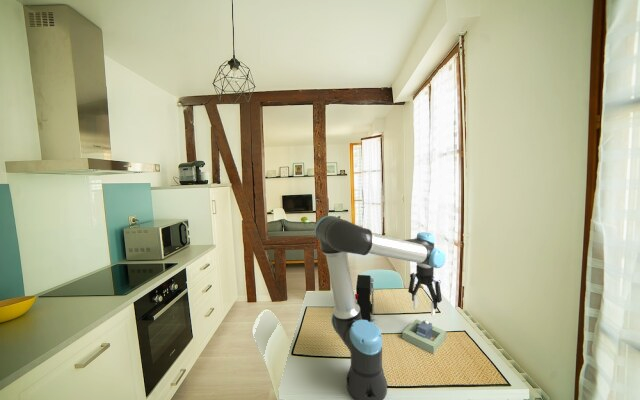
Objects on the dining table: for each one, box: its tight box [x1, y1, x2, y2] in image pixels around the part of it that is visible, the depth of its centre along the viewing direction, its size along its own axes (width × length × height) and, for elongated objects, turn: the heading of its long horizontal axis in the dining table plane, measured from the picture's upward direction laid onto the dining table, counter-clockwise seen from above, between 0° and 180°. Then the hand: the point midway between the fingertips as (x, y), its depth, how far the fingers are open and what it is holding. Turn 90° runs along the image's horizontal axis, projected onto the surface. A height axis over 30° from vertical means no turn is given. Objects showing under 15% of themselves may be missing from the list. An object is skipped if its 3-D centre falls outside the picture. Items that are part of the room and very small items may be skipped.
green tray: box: [401, 318, 447, 355], centre depth 119 cm, size 15×15×4 cm
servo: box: [415, 320, 433, 340], centre depth 119 cm, size 10×4×8 cm, turn 133°
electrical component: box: [354, 274, 375, 322], centre depth 141 cm, size 18×10×20 cm, turn 168°
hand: (424, 311), depth 118 cm, fingers open, 8 cm apart
